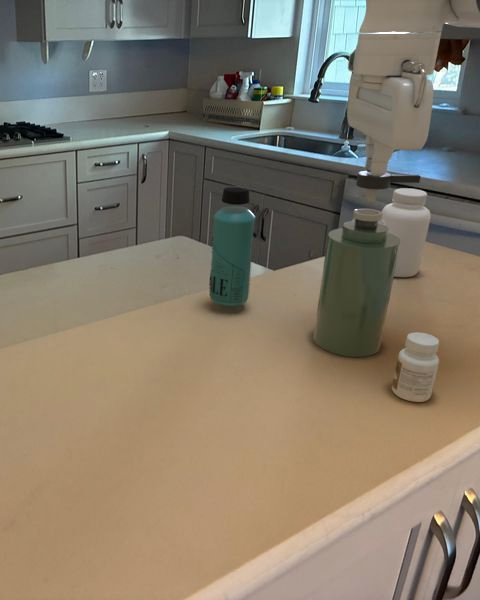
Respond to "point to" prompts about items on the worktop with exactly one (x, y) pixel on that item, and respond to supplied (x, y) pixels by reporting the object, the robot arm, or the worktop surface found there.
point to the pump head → (381, 182)
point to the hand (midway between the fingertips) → (374, 173)
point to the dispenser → (356, 286)
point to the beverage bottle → (232, 249)
